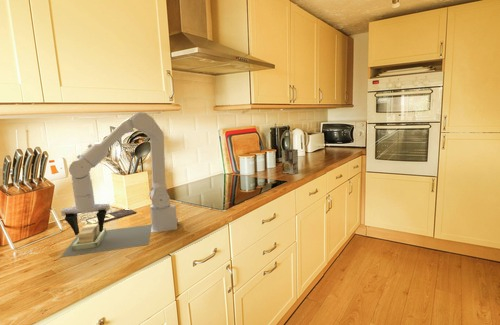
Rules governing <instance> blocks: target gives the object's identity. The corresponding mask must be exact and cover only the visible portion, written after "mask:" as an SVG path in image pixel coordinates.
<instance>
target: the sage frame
mask: <svg viewBox="0 0 500 325" xmlns="http://www.w3.org/2000/svg"><path fill="white" fill-rule="evenodd" d="M106 230H107V228H103V231H102V232H100V231H99V232H100V234H99V236H98V237H97V239H96V241H95V242H89V243H82V244H79V237H78V239H77V240H76V241H75V242H74V244H73V245H72V250H79V249H86V248H93V247H98V246H99V244H100V242H101V241H102V239H103V237H104V235H105V234H106Z"/></svg>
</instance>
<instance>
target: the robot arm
mask: <svg viewBox="0 0 500 325" xmlns="http://www.w3.org/2000/svg"><path fill="white" fill-rule="evenodd" d="M135 130H137V131H139V132H141V133H143V134H144V135H146V136H147V137H148V138H149V139H150V140H149V142H150V164H151V165H150V166H151V189H150V190H149V198H150V200H151V204H150V205H149V207H150V208H149V209H150V218H151V225H152V228H151V234H153V233H160V232H167V231H175V230H178V223H179V221H178V220H179V219H178V217H177V216H178V215H177V208H176V207H177V206H176V204H171V203H170V200H171V197H170V195H169V193H168V188H167V182H166V165H165V164H166V162H165V160H166V159H165V137H164V136H165V135H164V131H163V130H162V129H161V127H160V126H159V125H158V123H157V122H156V121H155V119H154V117H152V116H150V115H149V114H148V113H146V112H144V111H138V112H135V113H133V114H132V115H131V116H130V117H128V118H127V119H125V120H123V121H122V122H120V124H118V125H117V126H116V127H115V128H114V129H112V131H111V132H110V133H109V134H108V135H107V136H106V137H105V138H104V139H103V140H101V141H100V142H94V143H90V144H88V146H87V149H85V151H84V152H82V154H78V155H77V156H76V158H77V159H74V161H72V162H71V164H70V165H69V167H68V172H69V174H70V175H71V181H72V183H71V185H72V191H73V197H74V203H75V206H73V207H67V208H63V209H61V210H60V212H61V216H62V217H64V220H65V221H66V222H67V224H68V225H69V226H70V228H71V229H72V231H73V234H74V236H77V235H78V234H79V233H80V229H79V222H78V214H86V213H93V212H95V213H96V217H97V218H98V223H99V231H100V232H102V231H103V229H104V223H105V222H104V219H105V215H106V214H108V213H107V212H108V211H110V209H111V207H110V203H99V204H98V203H95V194H94V189H93V182H92V181H93V180H92V179H91V173H90V171H91V169H92V168H95V167H97V165H98V164H100V163H101V162H102V161H103V160H104V159H105V158H106V157H107V156H108V155H109V149H110V148H111V147H112V146H113V145H114V144H115V143H116V142H118V141H119V140H120V139H121V138H122V137H124V136H125V134H129V133H133V132H135Z"/></svg>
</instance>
